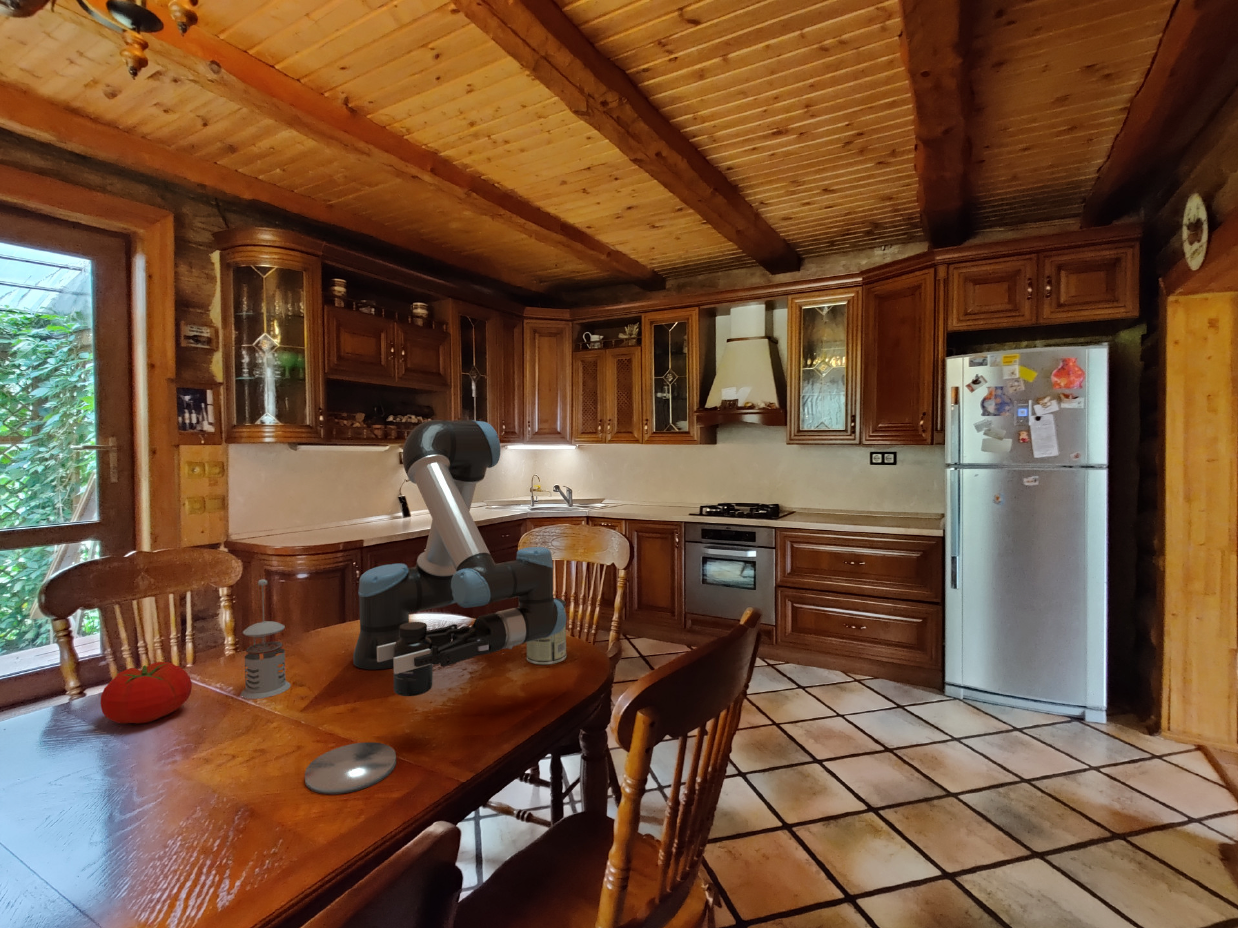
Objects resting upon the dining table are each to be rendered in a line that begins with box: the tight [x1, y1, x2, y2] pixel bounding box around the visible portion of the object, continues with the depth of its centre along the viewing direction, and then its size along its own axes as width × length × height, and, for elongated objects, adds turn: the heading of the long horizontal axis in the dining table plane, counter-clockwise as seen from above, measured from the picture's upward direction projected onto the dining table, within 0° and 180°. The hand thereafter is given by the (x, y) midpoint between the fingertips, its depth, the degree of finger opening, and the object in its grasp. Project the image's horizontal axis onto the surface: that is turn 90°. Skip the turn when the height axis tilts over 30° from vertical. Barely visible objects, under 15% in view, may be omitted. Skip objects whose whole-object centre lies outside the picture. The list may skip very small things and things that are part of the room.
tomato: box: [100, 661, 193, 725], centre depth 122 cm, size 14×16×10 cm
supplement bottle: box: [393, 621, 434, 697], centre depth 111 cm, size 7×7×12 cm
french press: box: [240, 578, 291, 700], centre depth 136 cm, size 10×12×25 cm
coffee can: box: [526, 597, 567, 665], centre depth 153 cm, size 10×10×14 cm
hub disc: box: [304, 741, 397, 795], centre depth 102 cm, size 14×14×1 cm
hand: (386, 659), depth 107 cm, fingers closed on supplement bottle, 7 cm apart
